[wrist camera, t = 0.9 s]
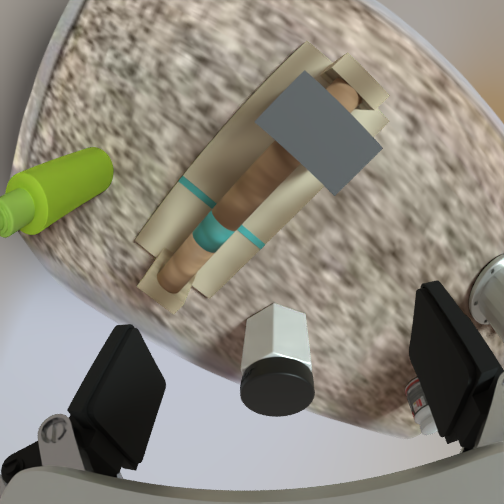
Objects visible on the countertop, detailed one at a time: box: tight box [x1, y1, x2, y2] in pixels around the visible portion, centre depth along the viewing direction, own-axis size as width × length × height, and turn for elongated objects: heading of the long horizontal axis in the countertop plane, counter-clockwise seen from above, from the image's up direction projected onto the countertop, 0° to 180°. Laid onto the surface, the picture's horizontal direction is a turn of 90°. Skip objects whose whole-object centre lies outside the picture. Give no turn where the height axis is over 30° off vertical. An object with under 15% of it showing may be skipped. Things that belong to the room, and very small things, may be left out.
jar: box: [240, 303, 315, 417], centre depth 37 cm, size 9×8×12 cm
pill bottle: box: [405, 377, 438, 435], centre depth 42 cm, size 6×6×10 cm
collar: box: [255, 70, 383, 196], centre depth 24 cm, size 8×5×10 cm, turn 48°
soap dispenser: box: [0, 147, 113, 238], centre depth 25 cm, size 6×7×20 cm
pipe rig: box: [135, 41, 390, 314], centre depth 30 cm, size 12×30×8 cm, turn 138°
